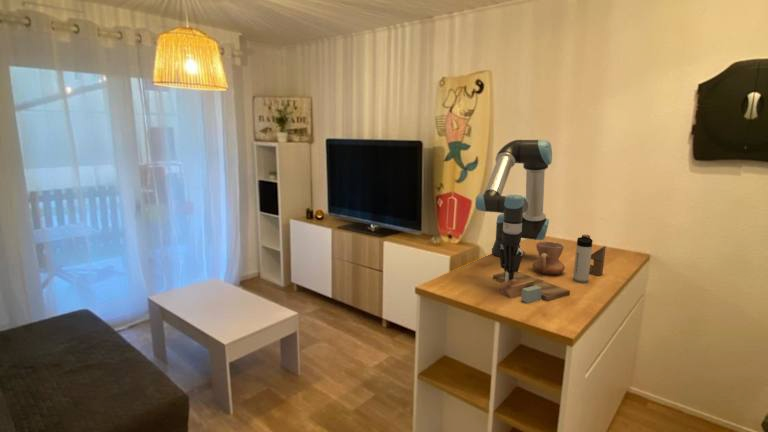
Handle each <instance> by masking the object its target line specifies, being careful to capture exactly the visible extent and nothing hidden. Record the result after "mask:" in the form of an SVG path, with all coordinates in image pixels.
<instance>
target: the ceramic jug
mask: <svg viewBox="0 0 768 432" xmlns="http://www.w3.org/2000/svg"><path fill="white" fill-rule="evenodd" d="M535 246H536V251H537V253H538V256H539V257H538V258H537V259H535V260H534V261H533V262H532V268H533V269H534V270H535V271H536V272H537V273H541V274H544V275H550V276H551V275H554V276H555V275H559V274H562V273H563V272H564V271H565V270H566V269H565V266H566V265H565V264H564V263H563V262H562V261H561V260H559V258H560V257H561V255H562V253H563V251H564V247H565V245H564V244H563V243H561V242H558V241H557V242H555V241H553V240H541V241H538V242H536V245H535Z"/></svg>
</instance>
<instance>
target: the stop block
mask: <svg viewBox="0 0 768 432" xmlns="http://www.w3.org/2000/svg"><path fill="white" fill-rule="evenodd" d="M541 294H542V288H541V287H539V286H536V285H535V286H531V287H527V288H523V289H522V296H520V297H521V299H520V301H521V302H523V301H524V303H526V304H530V303H533V302H537V301H540V300H542V299H541Z"/></svg>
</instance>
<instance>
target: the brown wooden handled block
mask: <svg viewBox="0 0 768 432" xmlns="http://www.w3.org/2000/svg"><path fill="white" fill-rule="evenodd" d="M500 283H501V287H500V289H501V290H500V294H502V293H504V294H506V295H507V296H506V295H505V296H506V297H508V296H509V298H510V297H512V298H511V299H513V297H514V298H517V296H518V297H522V296H521V295H522V289H523V288H526V286H529V285H533V284H535V281H533V280H531V281H527V282H521V281H519V280H516V279H513V280H509V281H505V282H500ZM504 294H503V295H504Z"/></svg>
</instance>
